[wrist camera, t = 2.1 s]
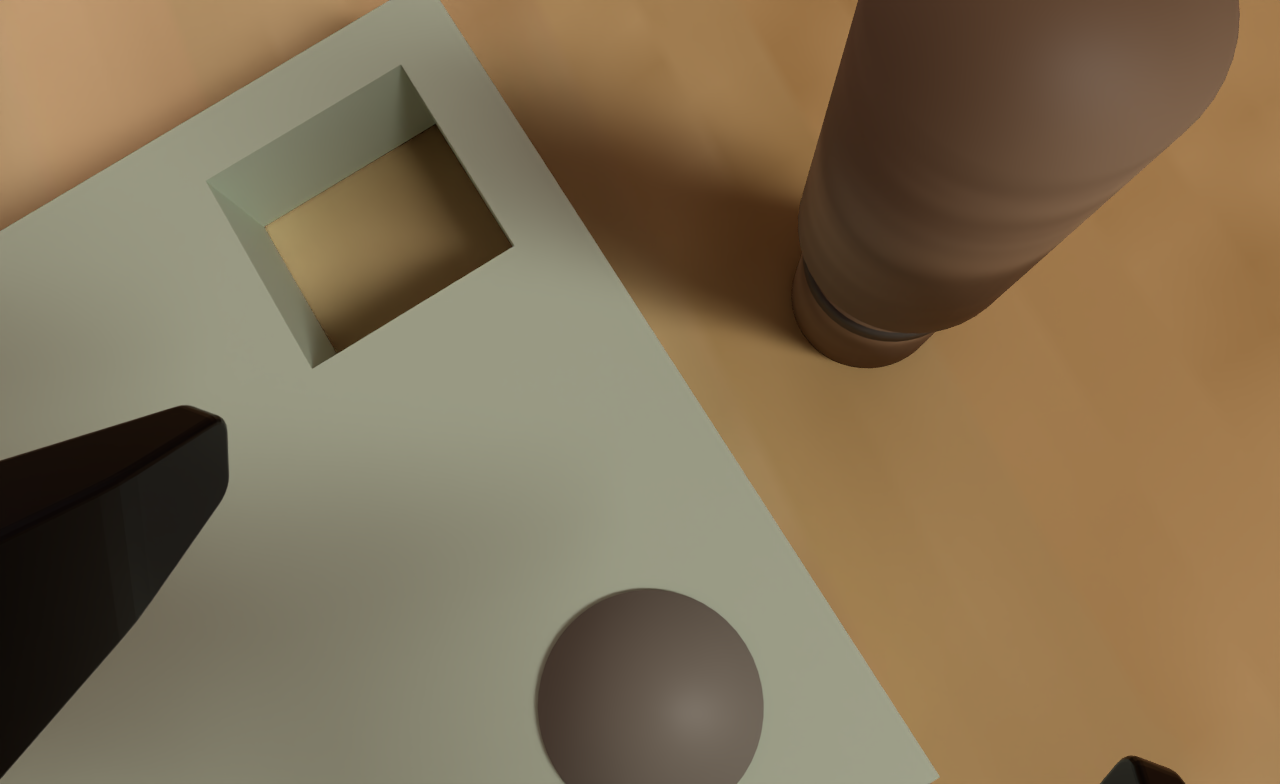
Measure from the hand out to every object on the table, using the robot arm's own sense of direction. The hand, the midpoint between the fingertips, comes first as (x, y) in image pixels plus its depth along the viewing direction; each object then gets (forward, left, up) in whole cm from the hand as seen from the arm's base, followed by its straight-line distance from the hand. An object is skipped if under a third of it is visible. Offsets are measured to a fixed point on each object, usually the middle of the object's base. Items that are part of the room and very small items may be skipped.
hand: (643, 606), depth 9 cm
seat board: (+4, +8, -13) cm, 16 cm away
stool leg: (+3, -7, -13) cm, 16 cm away
